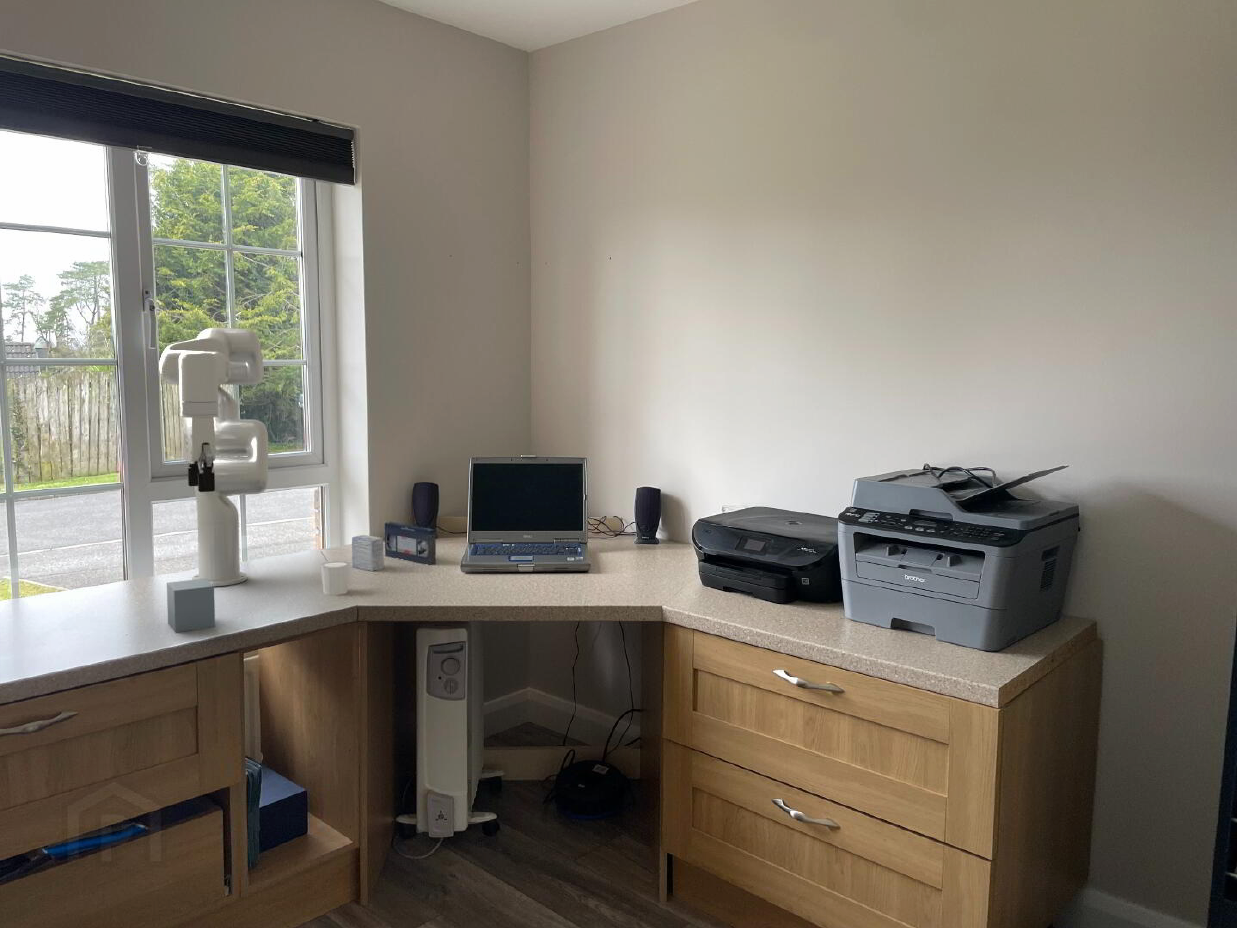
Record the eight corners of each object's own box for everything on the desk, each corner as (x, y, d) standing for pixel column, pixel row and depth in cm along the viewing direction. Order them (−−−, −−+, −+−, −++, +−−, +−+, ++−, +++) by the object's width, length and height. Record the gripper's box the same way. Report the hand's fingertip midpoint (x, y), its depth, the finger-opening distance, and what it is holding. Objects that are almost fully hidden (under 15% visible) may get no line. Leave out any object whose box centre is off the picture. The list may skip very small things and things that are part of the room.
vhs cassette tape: (384, 556, 262) (384, 522, 261) (392, 554, 265) (392, 521, 264) (428, 566, 252) (428, 531, 251) (436, 564, 254) (436, 529, 253)
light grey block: (384, 569, 247) (384, 537, 246) (371, 572, 243) (371, 540, 242) (364, 564, 251) (364, 534, 250) (351, 567, 247) (351, 536, 246)
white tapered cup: (341, 596, 217) (341, 568, 217) (315, 594, 219) (315, 566, 218) (355, 589, 224) (355, 562, 223) (329, 587, 225) (329, 560, 225)
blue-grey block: (167, 622, 193) (166, 582, 192) (206, 617, 197) (205, 578, 196) (175, 632, 187) (174, 590, 186) (215, 626, 191) (214, 586, 190)
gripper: (172, 407, 198) (174, 484, 200) (189, 412, 185) (191, 495, 187) (208, 407, 203) (210, 482, 205) (228, 412, 189) (229, 492, 191)
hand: (201, 488), depth 196 cm, fingers open, 9 cm apart
